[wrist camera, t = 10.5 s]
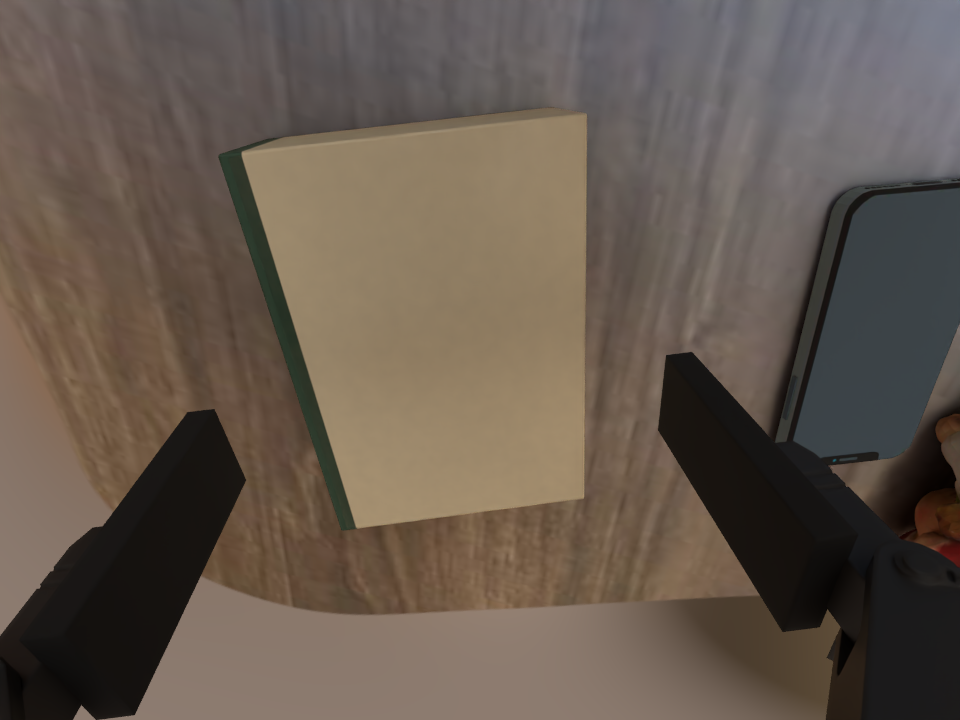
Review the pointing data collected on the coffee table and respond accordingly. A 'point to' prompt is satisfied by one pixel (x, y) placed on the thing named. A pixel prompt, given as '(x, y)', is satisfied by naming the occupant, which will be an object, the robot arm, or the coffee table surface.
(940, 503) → the figurine
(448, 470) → the book
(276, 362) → the coffee table surface
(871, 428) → the smartphone
